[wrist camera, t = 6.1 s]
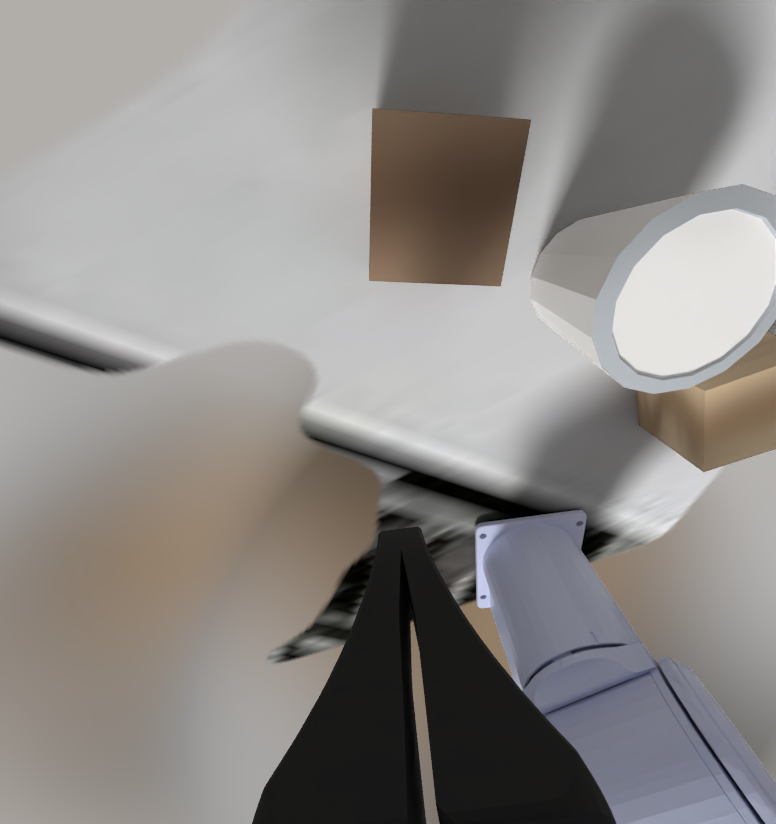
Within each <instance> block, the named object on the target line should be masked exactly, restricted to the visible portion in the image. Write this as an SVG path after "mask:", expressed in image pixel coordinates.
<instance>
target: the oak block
mask: <svg viewBox="0 0 776 824" xmlns="http://www.w3.org/2000/svg"><path fill="white" fill-rule="evenodd" d="M636 396H637V407H638V418H639V425H640V426H641V427H643V428H644V429H645V430H647V431H648V432H649V433H651V434H652V435H654V436H655V437H656V438H658V439H659V440H660V441H662V442H663V443H665V444H666V445H667V446H669V447H670V448H671V449H673V450H674V451H675V452H677V453H678V454H680V455H681V456H682V457H684V458H685V459H686V460H688V461H689V462H691V463H692V464H693V465H695V466H696V467H697V468H699V469H700V470H701V471H703V472H705V471H709V470H712V469H715V468H718V467H721V466H724V465H727V464H730V463H733V462H736V461H739V460H743V459H746V458H749V457H752V456H755V455H758V454H761V453H764V452H767V451H771V450H774V449H776V335H773V334H770V333H766V334H765V335H764V336H763V338H762V339H761V341H760V342H759V343H758V344H757V345H756V346H754V347H753V348H752V349H751V350H750V351H748V352H747V353H746V354H745V355H744V356H742V357H741V358H740V359H739V360H738V361H736V362H735V363H734V364H733V365H732V366H730V367H729V368H728V369H727V370H726V371H724V372H722V373H720V374H718V375H716V376H714V377H712V378H709V379H707V380H705V381H703V382H701V383H699V384H697V385H695V386H693V387H691V388H688V389H682V390H676V391H670V392H664V393H657V394H651V393H647V392H642V391H638V390H636Z"/></svg>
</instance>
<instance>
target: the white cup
mask: <svg viewBox="0 0 776 824" xmlns="http://www.w3.org/2000/svg"><path fill="white" fill-rule="evenodd" d="M530 298H531V301H532V303H533V306H534V308H535V311H536V313H537V316H538V317H539V318H540V319H542V320H543V321H544V322H545V323H546V324H547V325H549V326H550V327H551V328H552V329H553V330H554V331H556V332H557V333H558V334H559V335H561V336H562V337H563V338H564V339H565V340H567V341H568V342H569V343H570V344H572V345H573V346H574V347H575V348H576V349H578V350H579V351H580V352H581V353H583V354H584V355H585V356H586V357H587V358H589V359H590V360H591V361H592V362H594V363H595V364H596V365H597V366H598V367H600V368H601V369H602V370H603V371H605V372H606V373H607V374H608V375H609V376H611V377H612V378H613V379H614V380H615V381H617V382H618V383H619V384H620V385H622V386H623V387H625V388H629V389H634V390H638V391H642V392H647V393H651V394H657V393H664V392H670V391H676V390H682V389H688V388H691V387H693V386H695V385H697V384H699V383H701V382H703V381H705V380H707V379H709V378H712V377H714V376H716V375H718V374H720V373H722V372H724V371H726V370H727V369H728V368H729V367H730V366H732V365H733V364H734V363H735V362H736V361H738V360H739V359H740V358H741V357H742V356H744V355H745V354H746V353H747V352H748V351H750V350H751V349H752V348H753V347H754V346H756V345H757V344H758V343H759V342H760V341H761V339H762V338H763V336H764V335H765V334H766V332H767V331H768V330H769V328H770V327H771V325H772V324H773V323H774V321H775V320H776V195H773V194H770V193H767V192H764V191H761V190H758V189H755V188H752V187H749V186H746V185H744V184H742V185H736V186H730V187H725V188H719V189H713V190H708V191H702V192H697V193H692V194H688V195H684V196H679V197H675V198H671V199H666V200H662V201H658V202H653V203H649V204H645V205H640V206H636V207H632V208H627V209H623V210H619V211H614V212H610V213H606V214H601V215H597V216H593V217H588V218H584V219H580V220H577V221H576V222H574V223H573V224H571V225H569V226H568V227H566V228H564V229H563V230H561V231H560V232H558V233H557V234H556V235H555V236H554V237H553V238H552V240H551V241H550V242H549V243H548V244H547V246H546V247H545V248H544V249H543V250H542V252H541V253H540V255H539V257H538V260H537V262H536V265H535V267H534V270H533V273H532V275H531V294H530Z"/></svg>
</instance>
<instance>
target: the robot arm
mask: <svg viewBox="0 0 776 824" xmlns="http://www.w3.org/2000/svg"><path fill="white" fill-rule="evenodd" d="M586 520H587V515H586V514H585V512H584V511H582V510H574V511H567V512H559V513H551V514H544V515H536V516H529V517H521V518H513V519H506V520H498V521H490V522H483V523H479V524H477V525H476V526H475V557H476V602H477V605H478V607H480V608H488V607H490V608H491V611H492V614H493V617H494V620H495V623H496V627H497V630H498V633H499V636H500V639H501V642H502V645H503V648H504V652H505V655H506V658H507V661H508V664H509V667H510V670H511V673H512V677H513V679H514V680H513V679H512V678H511V677H510V675H509V674H508V673H507V672H506V670H505V669H504V668H503V667H502V666H501V664H500V663H499V662H498V661H497V659H496V658H495V657H494V656H493V654H492V653H491V652H490V650H489V649H488V648H487V646H486V645H485V644H484V642H483V641H482V640H481V638H480V637H479V635H478V634H477V633H476V631H475V630H474V628H473V627H472V625H471V624H470V623H469V621H468V620H467V618H466V617H465V615H464V614H463V612H462V610H461V609H460V607H459V606H458V604H457V602H456V601H455V599H454V598H453V596H452V594H451V593H450V591H449V589H448V588H447V586H446V584H445V582H444V580H443V578H442V577H441V575H440V573H439V571H438V569H437V567H436V565H435V563H434V561H433V559H432V557H431V555H430V553H429V550H428V548H427V546H426V543H425V540H424V537H423V534H422V530H421V529H420V528H419V527H412V528H404V529H396V530H389V531H381V532H380V533H379V535H378V543H377V549H376V554H375V559H374V563H373V567H372V570H371V574H370V577H369V580H368V584H367V587H366V591H365V594H364V597H363V599H362V602H361V605H360V608H359V610H358V613H357V616H356V619H355V621H354V624H353V626H352V629H351V631H350V634H349V636H348V638H347V641H346V643H345V645H344V647H343V650H342V652H341V654H340V656H339V658H338V661H337V662H336V664H335V667H334V669H333V671H332V673H331V675H330V677H329V679H328V681H327V683H326V685H325V687H324V689H323V690H322V692H321V694H320V696H319V698H318V700H317V702H316V703H315V705H314V707H313V709H312V710H311V712H310V714H309V716H308V717H307V719H306V721H305V723H304V724H303V726H302V728H301V730H300V732H299V733H298V735H297V737H296V738H295V740H294V741H293V743H292V745H291V746H290V748H289V749H288V751H287V753H286V754H285V756H284V757H283V759H282V760H281V762H280V764H279V765H278V767H277V768H276V770H275V771H274V773H273V775H272V777H271V778H270V779H269V781H268V783H267V784H266V786H265V788H264V790H263V793H262V795H261V798H260V801H259V804H258V807H257V810H256V813H255V816H254V819H253V822H252V824H426V818H425V809H424V799H423V790H422V780H421V771H420V761H419V752H418V742H417V733H416V722H415V712H414V703H413V691H412V674H411V673H412V669H411V637H410V636H411V631H410V606H411V611H412V616H413V621H414V626H415V631H416V636H417V641H418V646H419V651H420V659H421V668H422V677H423V686H424V695H425V705H426V714H427V723H428V731H429V741H430V751H431V760H432V769H433V778H434V788H435V796H436V797H435V798H436V806H437V811H438V816H439V822H440V824H776V782H775V781H774V780H773V778H772V777H771V775H770V774H769V773H768V772H767V770H766V769H765V767H764V766H763V764H762V763H761V762H760V761H759V759H758V758H757V756H756V755H755V753H754V752H753V751H752V750H751V748H750V747H749V745H748V744H747V743H746V741H745V740H744V739H743V737H742V736H741V735H740V733H739V732H738V730H737V729H736V728H735V726H734V725H733V724H732V722H731V721H730V720H729V718H728V717H727V716H726V714H725V713H724V712H723V710H722V709H721V708H720V706H719V705H718V704H717V702H716V701H715V700H714V698H713V697H712V696H711V694H710V693H709V692H708V690H707V689H706V688H705V686H704V685H703V684H702V683H701V681H700V680H699V679H698V677H697V676H696V675H695V674H694V672H693V671H692V670H691V669H690V668H689V667H688V666H687V665H685V664H683V663H680V662H678V661H674V660H673V659H672V658H671V657H669V656H665V657H663V658H660V659H658V662H657V661H656V659H654V657H653V656H652V655H651V654H650V653H649V652H648V650H647V649H646V648H645V646H644V645H643V643H642V641H641V640H640V639H639V637H638V635H637V634H636V633H635V631H634V629H633V628H632V626H631V625H630V623H629V622H628V620H627V619H626V617H625V616H624V614H623V613H622V611H621V610H620V608H619V607H618V605H617V604H616V602H615V601H614V599H613V598H612V596H611V594H610V593H609V591H608V590H607V588H606V587H605V585H604V584H603V582H602V581H601V579H600V578H599V576H598V575H597V573H596V572H595V570H594V569H593V567H592V566H591V564H590V563H589V561H588V560H587V558H586V557H585V555H584V553H583V552H582V550H581V547H582V542H583V536H584V531H585V525H586ZM481 534H482V535H481Z"/></svg>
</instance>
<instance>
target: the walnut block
mask: <svg viewBox="0 0 776 824" xmlns="http://www.w3.org/2000/svg"><path fill="white" fill-rule="evenodd" d="M530 123H531V120H528V119H514V118H500V117H486V116H472V115H458V114H444V113H430V112H416V111H402V110H388V109H374V108H373V110H372V155H371V208H370V261H369V281H386V282H410V283H434V284H458V285H482V286H501V281H502V276H503V270H504V265H505V259H506V254H507V248H508V243H509V237H510V232H511V227H512V221H513V216H514V210H515V205H516V199H517V194H518V188H519V183H520V177H521V172H522V166H523V161H524V155H525V150H526V144H527V139H528V134H529V128H530Z"/></svg>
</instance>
